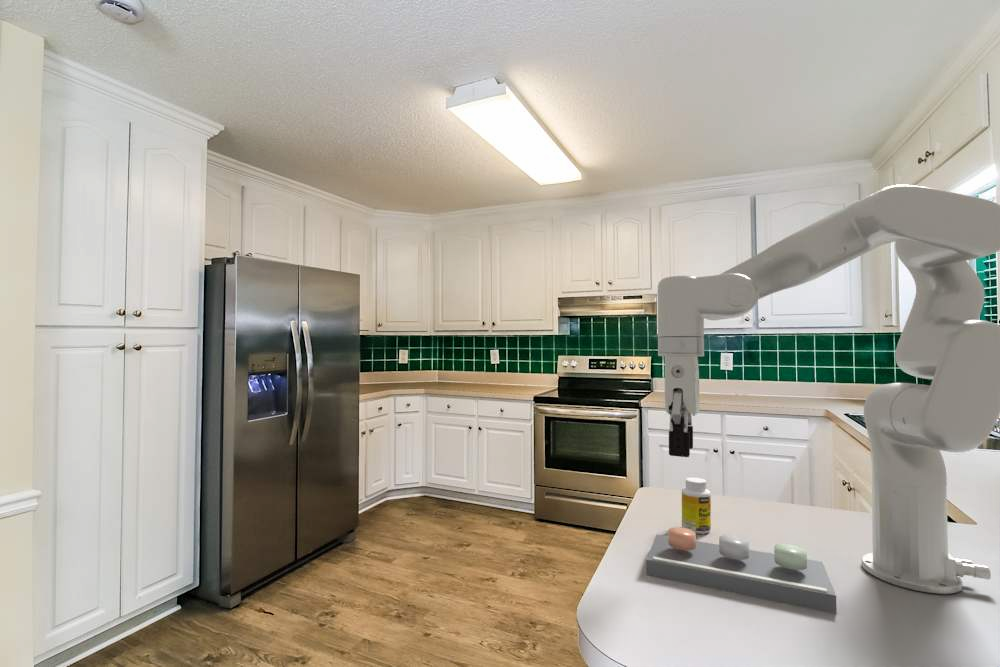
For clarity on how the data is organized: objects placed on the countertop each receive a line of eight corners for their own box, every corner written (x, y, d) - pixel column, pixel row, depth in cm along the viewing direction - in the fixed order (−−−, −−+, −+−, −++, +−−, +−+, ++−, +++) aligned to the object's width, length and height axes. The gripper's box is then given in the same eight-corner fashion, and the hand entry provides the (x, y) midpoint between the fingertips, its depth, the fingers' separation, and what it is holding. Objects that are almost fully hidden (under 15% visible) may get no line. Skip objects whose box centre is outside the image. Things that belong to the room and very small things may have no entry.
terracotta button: (696, 542, 84) (696, 529, 84) (694, 552, 80) (694, 538, 80) (670, 538, 86) (669, 525, 86) (666, 547, 82) (666, 534, 82)
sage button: (805, 560, 77) (804, 546, 77) (809, 572, 73) (808, 557, 73) (773, 555, 79) (773, 541, 79) (775, 566, 75) (775, 552, 75)
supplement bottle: (700, 537, 95) (699, 485, 96) (676, 528, 100) (675, 478, 100) (716, 531, 98) (716, 480, 99) (692, 523, 103) (692, 474, 103)
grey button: (748, 551, 80) (748, 537, 80) (749, 561, 76) (749, 547, 76) (719, 546, 82) (719, 533, 82) (718, 556, 78) (718, 542, 78)
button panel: (822, 577, 79) (822, 560, 79) (836, 613, 68) (836, 593, 68) (656, 547, 90) (656, 532, 90) (646, 575, 79) (646, 558, 79)
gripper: (700, 347, 74) (701, 465, 74) (706, 348, 90) (707, 444, 89) (650, 347, 78) (651, 460, 77) (664, 347, 93) (665, 441, 93)
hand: (681, 450), depth 83 cm, fingers open, 6 cm apart
